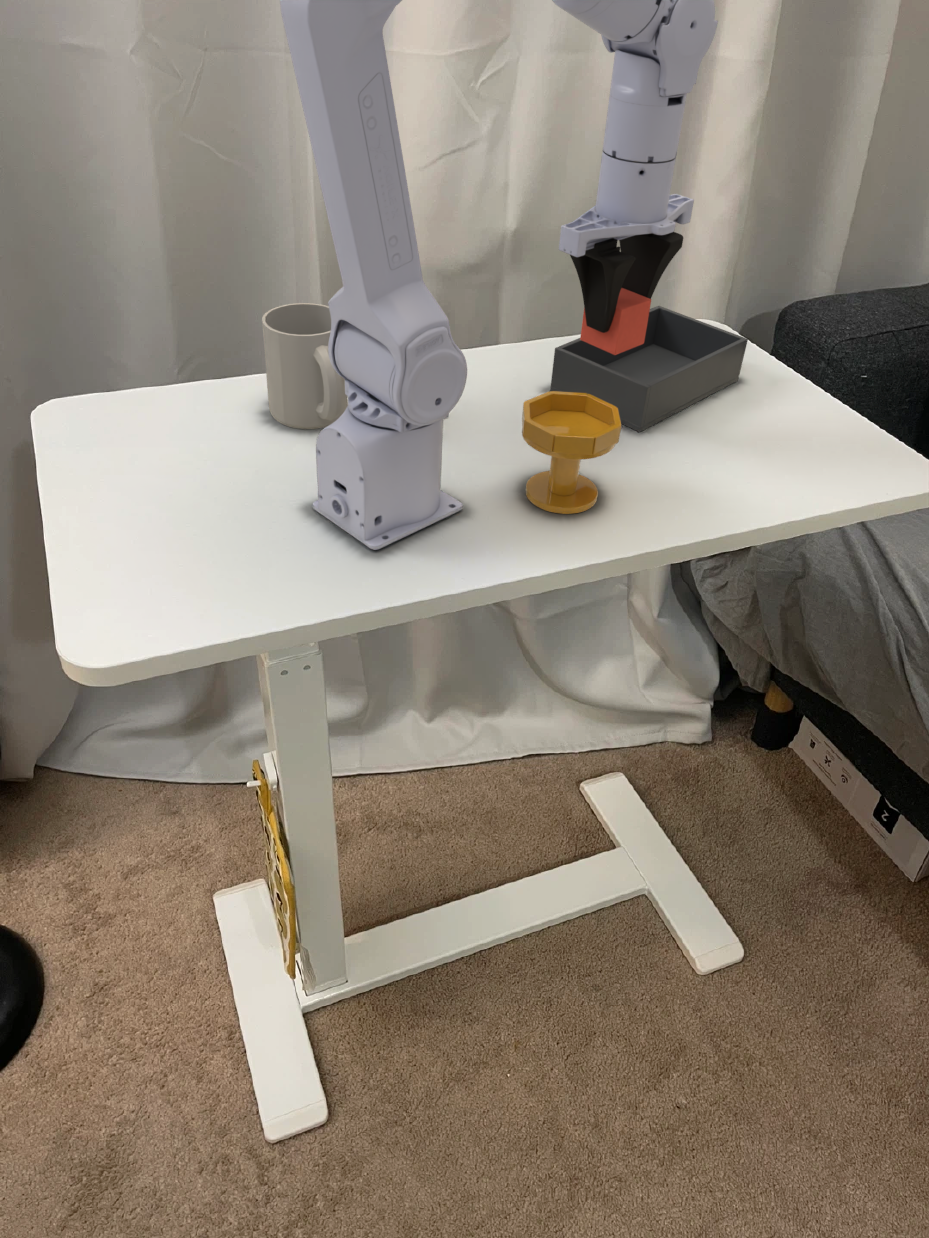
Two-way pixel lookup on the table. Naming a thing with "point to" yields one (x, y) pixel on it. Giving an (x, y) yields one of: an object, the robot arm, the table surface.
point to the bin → (653, 368)
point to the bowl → (567, 446)
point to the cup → (301, 367)
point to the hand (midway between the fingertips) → (614, 322)
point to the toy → (621, 325)
